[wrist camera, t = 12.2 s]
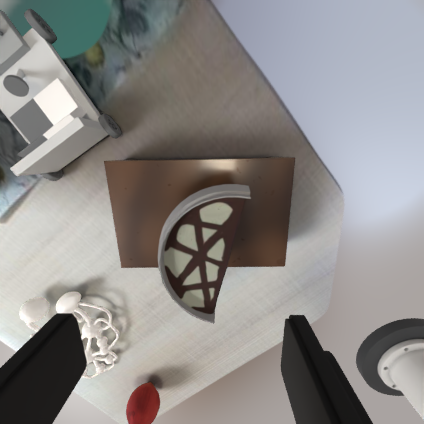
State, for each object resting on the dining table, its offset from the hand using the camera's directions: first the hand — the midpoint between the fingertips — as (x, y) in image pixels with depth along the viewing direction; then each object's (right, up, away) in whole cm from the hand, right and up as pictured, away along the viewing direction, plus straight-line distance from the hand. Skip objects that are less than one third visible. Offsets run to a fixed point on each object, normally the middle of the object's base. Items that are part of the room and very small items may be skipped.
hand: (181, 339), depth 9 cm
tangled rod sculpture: (-22, -15, +28) cm, 39 cm away
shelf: (0, +7, +21) cm, 22 cm away
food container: (0, +5, +16) cm, 17 cm away
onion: (-11, -29, +32) cm, 45 cm away
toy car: (-20, +21, +18) cm, 34 cm away
